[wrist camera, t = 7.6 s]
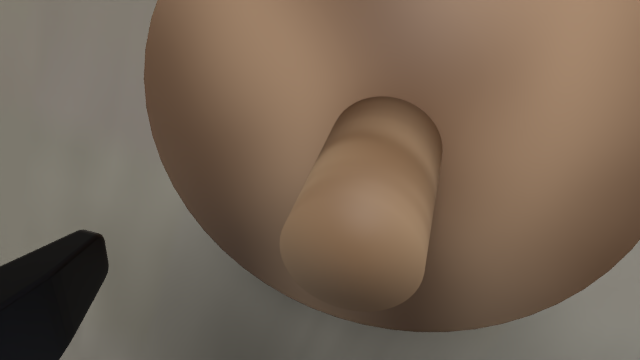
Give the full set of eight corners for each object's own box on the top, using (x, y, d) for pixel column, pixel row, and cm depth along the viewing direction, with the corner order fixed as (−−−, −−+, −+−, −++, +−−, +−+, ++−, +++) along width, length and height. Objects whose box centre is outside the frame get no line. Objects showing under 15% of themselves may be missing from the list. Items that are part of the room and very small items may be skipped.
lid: (265, 324, 22) (208, 453, 17) (69, -43, 15) (-97, 19, 11) (691, 299, 16) (759, 479, 12) (666, -290, 10) (797, -359, 5)
